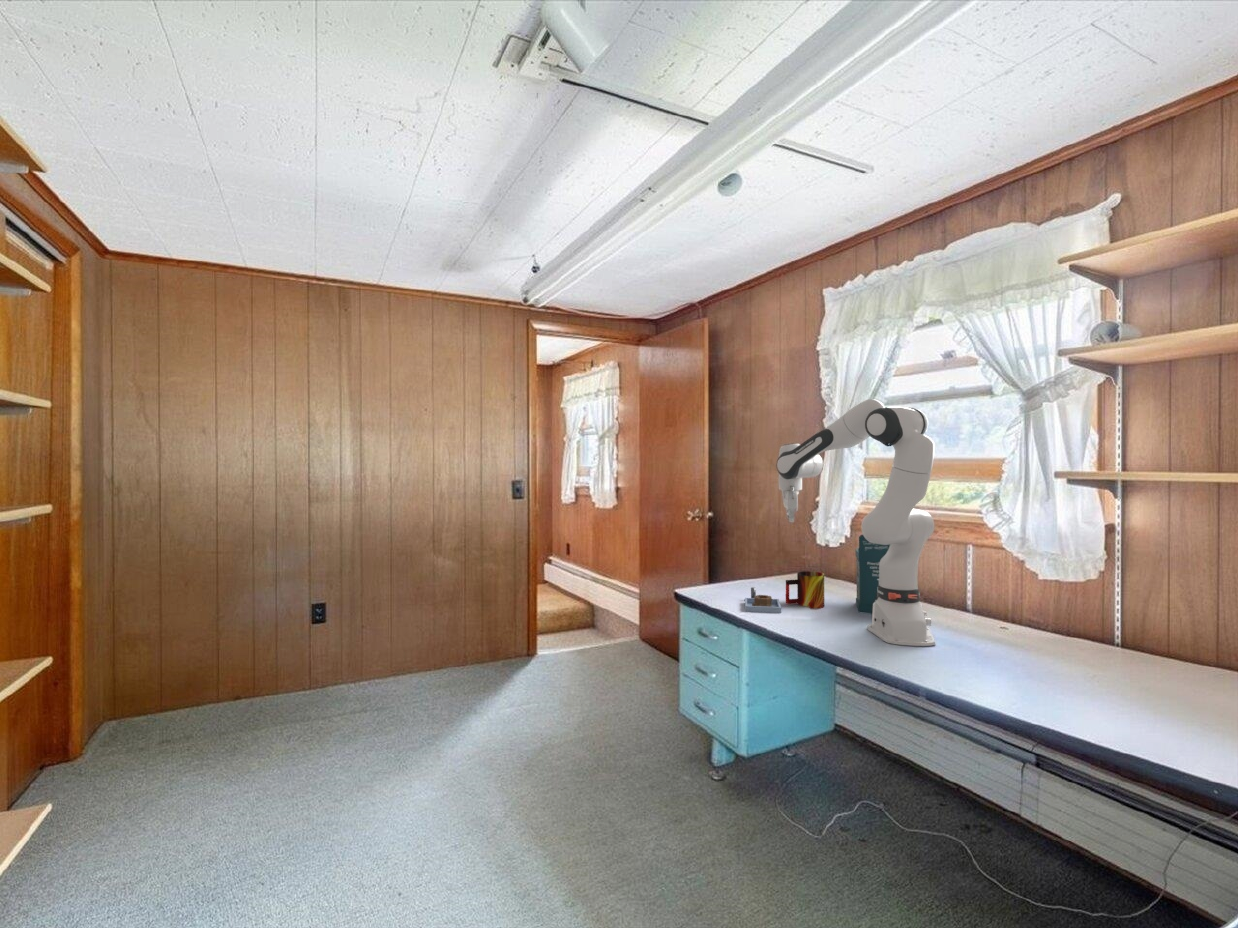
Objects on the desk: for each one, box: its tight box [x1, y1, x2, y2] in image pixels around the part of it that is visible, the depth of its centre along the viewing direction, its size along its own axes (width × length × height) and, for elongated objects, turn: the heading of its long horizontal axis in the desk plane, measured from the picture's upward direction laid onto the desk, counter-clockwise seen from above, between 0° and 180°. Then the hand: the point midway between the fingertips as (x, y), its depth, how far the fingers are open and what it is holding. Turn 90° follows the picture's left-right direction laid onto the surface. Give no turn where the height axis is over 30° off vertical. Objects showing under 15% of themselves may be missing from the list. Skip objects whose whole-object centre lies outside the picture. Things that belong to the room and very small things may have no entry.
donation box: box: [855, 534, 890, 614], centre depth 213 cm, size 16×16×28 cm
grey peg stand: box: [743, 586, 757, 602], centre depth 224 cm, size 7×7×5 cm
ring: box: [752, 594, 773, 607], centre depth 213 cm, size 6×7×4 cm
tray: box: [744, 597, 782, 614], centre depth 213 cm, size 12×12×2 cm
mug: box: [785, 570, 825, 610], centre depth 217 cm, size 10×14×12 cm
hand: (790, 520), depth 225 cm, fingers open, 8 cm apart
